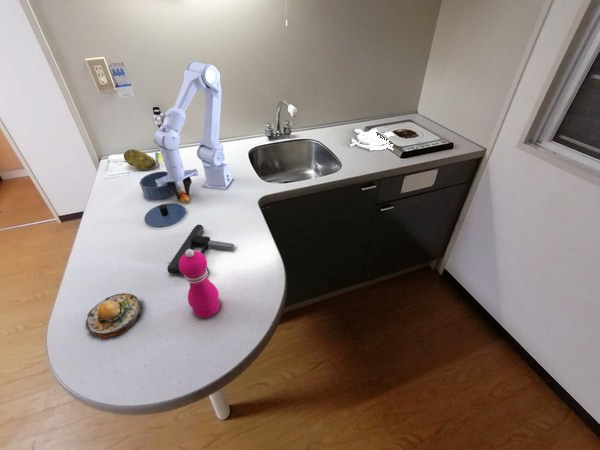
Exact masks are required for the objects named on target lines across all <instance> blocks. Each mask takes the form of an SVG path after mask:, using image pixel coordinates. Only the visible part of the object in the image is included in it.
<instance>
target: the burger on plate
mask: <svg viewBox="0 0 600 450" xmlns="http://www.w3.org/2000/svg"><path fill="white" fill-rule="evenodd" d="M142 308H143V307H142V304H141V301H140V300H139V298H138V297H137V296H136V295H134V294H132V293H124V292H123V293H117V294H112V295H110V296H108V297H106V298H104V299H103V300H102V301H100V302H98V303H97V304H96V305H95V306H94V307H93V308H91V309H90V310H89V312H88V313H87V316H86V317H87V318H86V320H85V327H86V329H87V331H88V332H89V333H90V335H92V336H95V337H98V338H102V339H108V338H110V337H115V336H118V335H120V334H122V333H125V332H126V331H127V330H130V328H131V327H133V325H135V324H136V322H137V321H138V320H139V318H140V316H141V314H142Z"/></svg>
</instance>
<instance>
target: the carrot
mask: <svg viewBox="0 0 600 450" xmlns="http://www.w3.org/2000/svg"><path fill="white" fill-rule="evenodd" d="M178 194H179V197H180V199H179V200H180V202H181V203H182V204H188V203H189V202H190V198H189V197H190V196H189V197H188V196H187V194H186V192H185V190H182V189H180V190H178Z"/></svg>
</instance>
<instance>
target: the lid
mask: <svg viewBox="0 0 600 450" xmlns="http://www.w3.org/2000/svg"><path fill="white" fill-rule="evenodd" d="M186 213H187V212H186V208H185V207H184V206H183V205H182V204H179V203H175V202H170V203H162V204H159V205H157V206H155V207H152V208H151V209H149V211H147V212H146V214H145V215H144V222H145V224H146V225H147V226H149V227H152V228H166V227H170V226H172V225H175V224H177V223H179V222H180V221H182V220H183V219H184V217H185V216H186Z"/></svg>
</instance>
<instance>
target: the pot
mask: <svg viewBox="0 0 600 450" xmlns="http://www.w3.org/2000/svg"><path fill="white" fill-rule="evenodd" d="M166 175H168V174H167V170H166V171H165V170H162V171H155V172H152V173H151V172H150V173H148V174H146V175H144V176H143V177H142V178H141V179H140V181H139V185H140V188H141V192H142V194H143V196H144V198H145V199H147V200H149V201H153V202H154V201H155V202H156V201H163V200H167V199H170V198H172V197H174V196H176V194H175V193H174V192H173V191H172V190H171V189H170V188H169V187H168V185H167V184H163V185H161V186H160V187H158V186H157V183H156V181H155V180H157V179H159V178H162V177H164V176H166ZM174 183H175V185H176V187H177V191H180V190H179V189H180V187H179V183H178V182H177V181H175V182H174Z"/></svg>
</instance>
